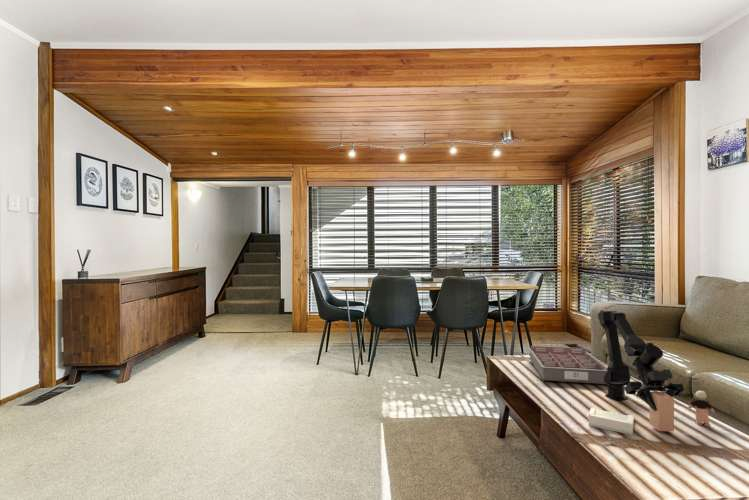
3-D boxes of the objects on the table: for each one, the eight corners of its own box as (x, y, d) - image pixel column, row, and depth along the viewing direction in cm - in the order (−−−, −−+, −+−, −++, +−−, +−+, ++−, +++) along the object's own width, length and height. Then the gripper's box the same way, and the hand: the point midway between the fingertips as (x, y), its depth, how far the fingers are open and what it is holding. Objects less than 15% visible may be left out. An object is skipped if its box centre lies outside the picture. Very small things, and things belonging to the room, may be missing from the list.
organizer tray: (542, 383, 198) (542, 363, 198) (528, 361, 237) (528, 345, 237) (612, 387, 191) (612, 367, 191) (586, 364, 230) (586, 347, 230)
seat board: (593, 411, 163) (593, 401, 163) (633, 419, 155) (633, 409, 155) (588, 425, 149) (588, 414, 149) (632, 435, 141) (632, 424, 141)
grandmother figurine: (710, 423, 151) (710, 390, 151) (715, 427, 147) (715, 393, 147) (686, 420, 153) (686, 387, 153) (691, 424, 150) (690, 391, 150)
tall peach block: (649, 423, 148) (649, 391, 148) (663, 424, 148) (663, 392, 148) (659, 430, 142) (659, 397, 142) (674, 431, 142) (674, 398, 142)
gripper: (628, 360, 150) (645, 400, 139) (681, 361, 148) (702, 402, 137) (618, 374, 158) (633, 413, 147) (668, 375, 155) (687, 415, 145)
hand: (663, 410), depth 143 cm, fingers closed on tall peach block, 5 cm apart
